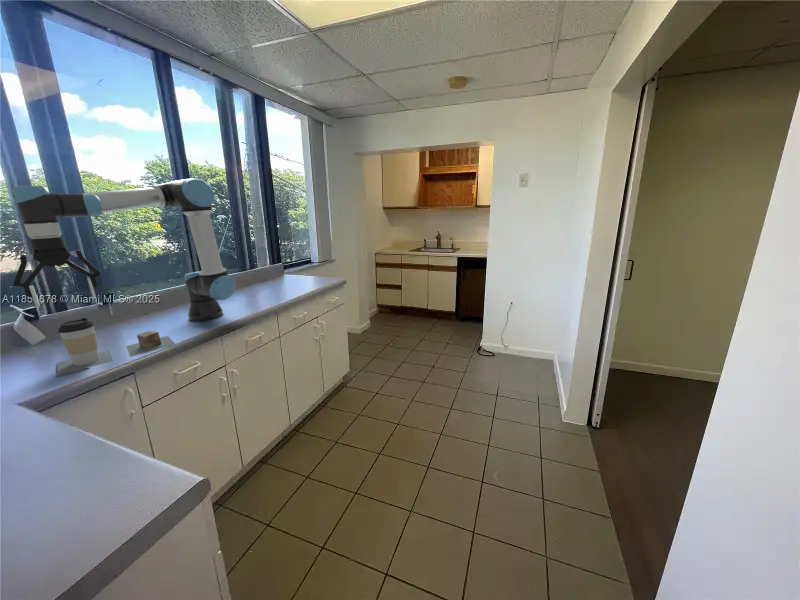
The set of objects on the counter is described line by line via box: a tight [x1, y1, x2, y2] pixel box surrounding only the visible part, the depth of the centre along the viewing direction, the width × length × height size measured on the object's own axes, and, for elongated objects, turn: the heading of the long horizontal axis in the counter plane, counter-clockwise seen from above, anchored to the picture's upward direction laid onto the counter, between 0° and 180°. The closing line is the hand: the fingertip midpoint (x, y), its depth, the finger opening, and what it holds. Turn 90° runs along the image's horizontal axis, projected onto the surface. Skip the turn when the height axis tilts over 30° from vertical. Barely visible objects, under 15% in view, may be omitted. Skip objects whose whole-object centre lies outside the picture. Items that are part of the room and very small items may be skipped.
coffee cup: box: [58, 317, 100, 365], centre depth 114 cm, size 9×9×15 cm
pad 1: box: [56, 349, 114, 377], centre depth 116 cm, size 14×14×1 cm
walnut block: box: [136, 330, 161, 349], centre depth 128 cm, size 5×5×5 cm
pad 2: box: [125, 335, 176, 357], centre depth 128 cm, size 14×14×1 cm
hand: (67, 301), depth 110 cm, fingers open, 13 cm apart
